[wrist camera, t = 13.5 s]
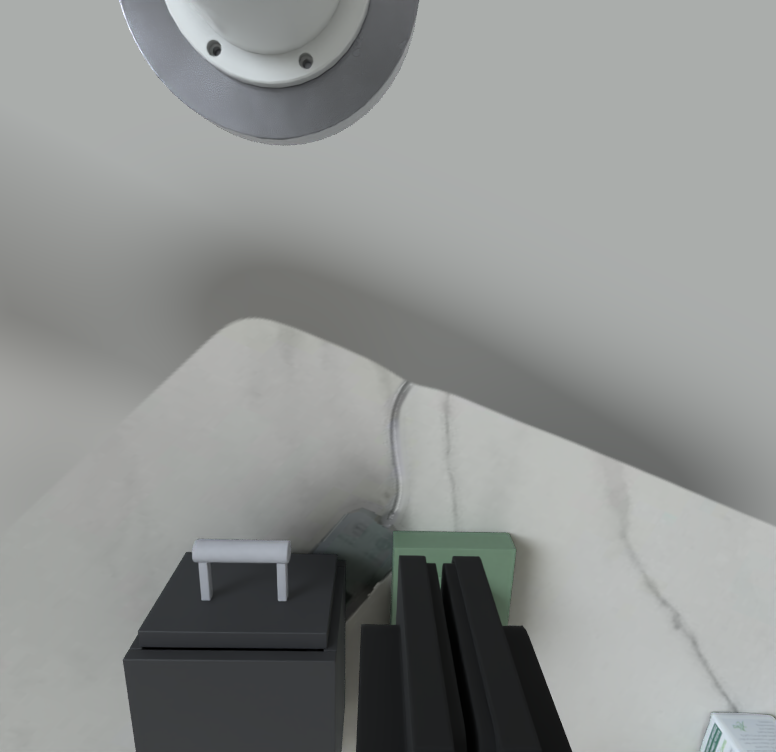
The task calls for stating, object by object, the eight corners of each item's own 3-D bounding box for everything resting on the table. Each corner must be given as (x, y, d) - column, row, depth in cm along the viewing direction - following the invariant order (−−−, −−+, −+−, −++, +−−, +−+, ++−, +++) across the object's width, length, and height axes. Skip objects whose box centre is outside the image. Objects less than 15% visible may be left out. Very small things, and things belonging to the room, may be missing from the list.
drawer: (181, 501, 36) (129, 570, 29) (337, 503, 36) (326, 573, 29) (199, 692, 41) (159, 795, 33) (336, 693, 41) (327, 795, 34)
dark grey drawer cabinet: (183, 558, 38) (122, 659, 29) (345, 560, 39) (335, 661, 29) (197, 704, 42) (147, 835, 33) (344, 705, 43) (335, 835, 33)
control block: (393, 530, 38) (395, 563, 34) (509, 532, 38) (523, 565, 34) (389, 646, 41) (390, 688, 37) (496, 647, 41) (508, 689, 37)
